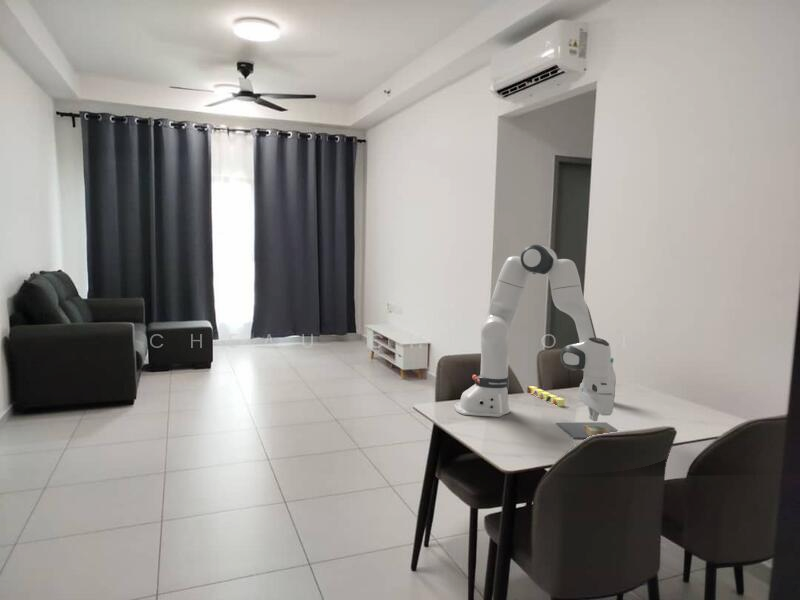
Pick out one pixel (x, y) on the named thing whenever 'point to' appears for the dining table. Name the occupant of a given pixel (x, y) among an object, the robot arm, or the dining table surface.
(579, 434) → the mat
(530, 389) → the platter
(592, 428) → the wooden u-shaped block
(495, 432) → the dining table surface
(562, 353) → the robot arm
